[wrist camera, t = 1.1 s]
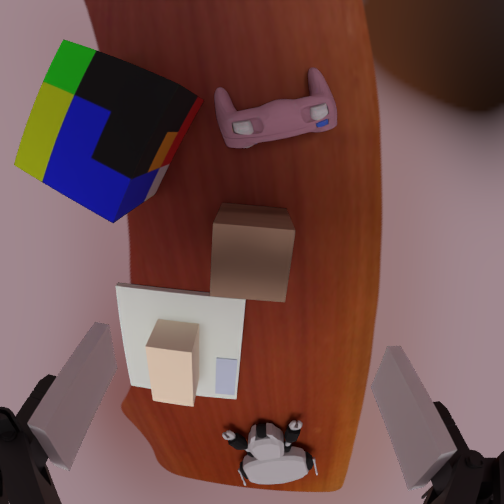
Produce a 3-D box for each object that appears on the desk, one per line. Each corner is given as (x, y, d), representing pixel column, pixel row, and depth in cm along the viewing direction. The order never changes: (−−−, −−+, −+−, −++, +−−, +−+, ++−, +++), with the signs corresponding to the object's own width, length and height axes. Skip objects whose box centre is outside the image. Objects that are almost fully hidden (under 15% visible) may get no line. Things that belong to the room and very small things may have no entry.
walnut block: (222, 202, 30) (213, 223, 23) (286, 208, 30) (295, 230, 23) (218, 261, 32) (209, 296, 25) (278, 266, 32) (284, 302, 25)
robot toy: (218, 418, 42) (246, 470, 46) (215, 440, 37) (245, 490, 41) (302, 404, 40) (316, 459, 45) (305, 427, 36) (319, 479, 40)
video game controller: (223, 129, 29) (226, 166, 24) (210, 86, 25) (209, 114, 20) (324, 107, 28) (350, 139, 23) (318, 63, 24) (346, 86, 20)
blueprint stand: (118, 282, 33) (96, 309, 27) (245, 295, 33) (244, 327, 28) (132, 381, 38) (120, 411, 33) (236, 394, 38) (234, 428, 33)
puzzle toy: (155, 194, 29) (113, 223, 20) (75, 151, 28) (13, 164, 18) (204, 100, 26) (179, 84, 17) (116, 61, 24) (63, 39, 15)
